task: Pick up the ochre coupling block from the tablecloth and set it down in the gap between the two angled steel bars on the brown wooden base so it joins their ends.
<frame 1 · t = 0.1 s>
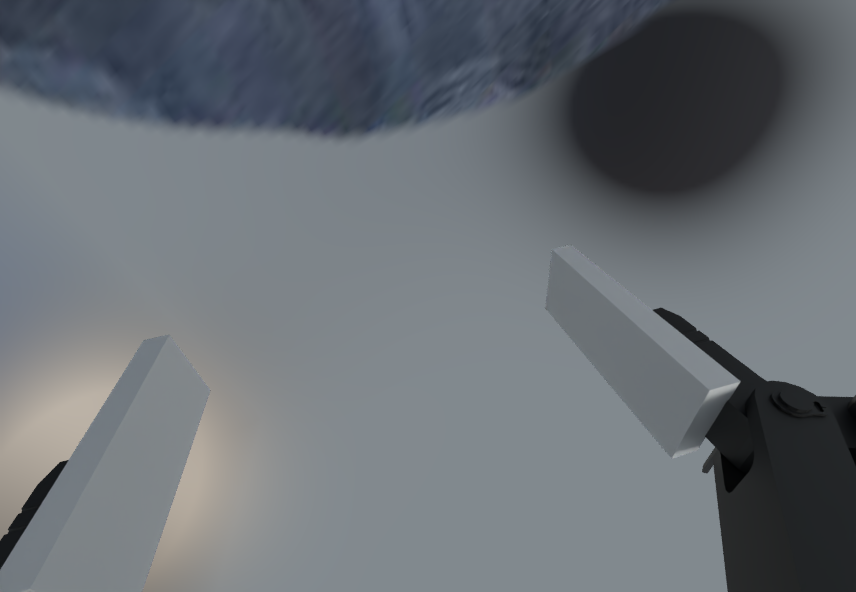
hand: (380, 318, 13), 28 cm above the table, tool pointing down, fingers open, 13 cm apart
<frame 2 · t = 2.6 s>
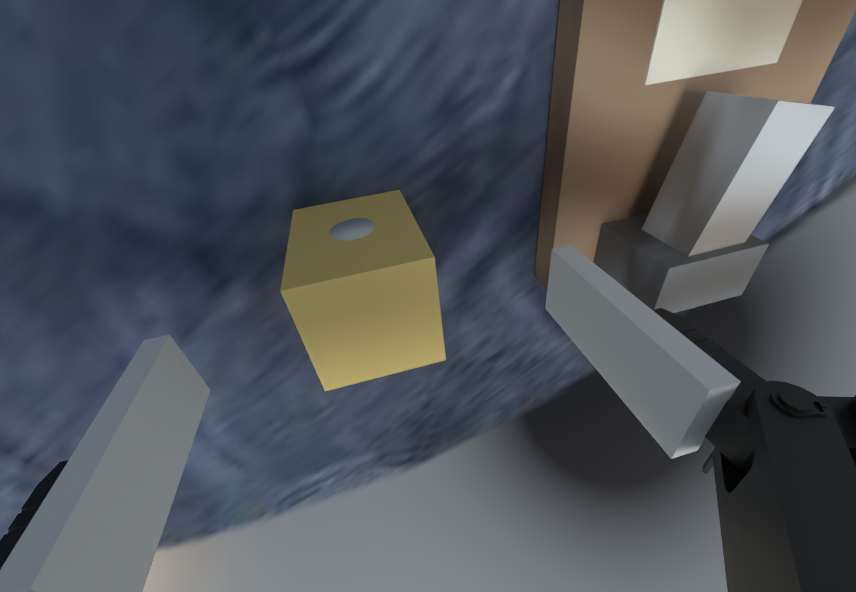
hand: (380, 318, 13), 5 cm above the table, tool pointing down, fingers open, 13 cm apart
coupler: (359, 245, 16), on the table
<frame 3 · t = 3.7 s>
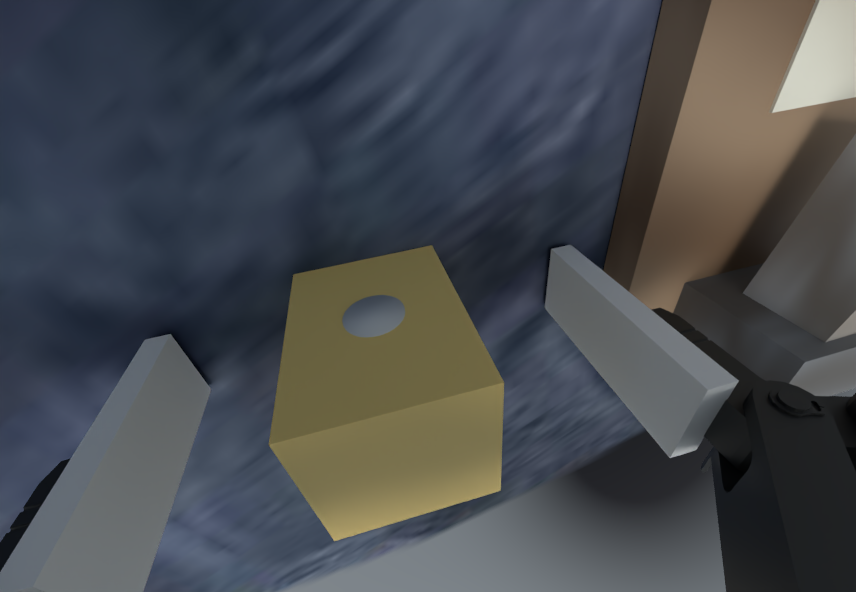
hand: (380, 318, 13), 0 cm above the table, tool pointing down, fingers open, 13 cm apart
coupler: (377, 312, 13), on the table
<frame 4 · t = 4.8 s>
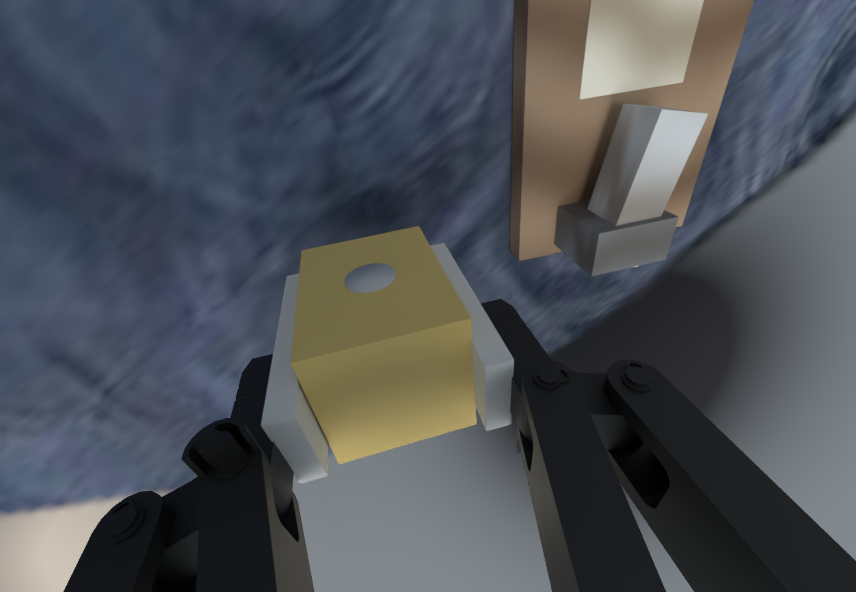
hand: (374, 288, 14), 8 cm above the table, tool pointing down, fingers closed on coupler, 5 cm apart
brown wooden base: (623, 22, 18), on the table
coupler: (373, 286, 15), point 8 cm above the table, touching gripper
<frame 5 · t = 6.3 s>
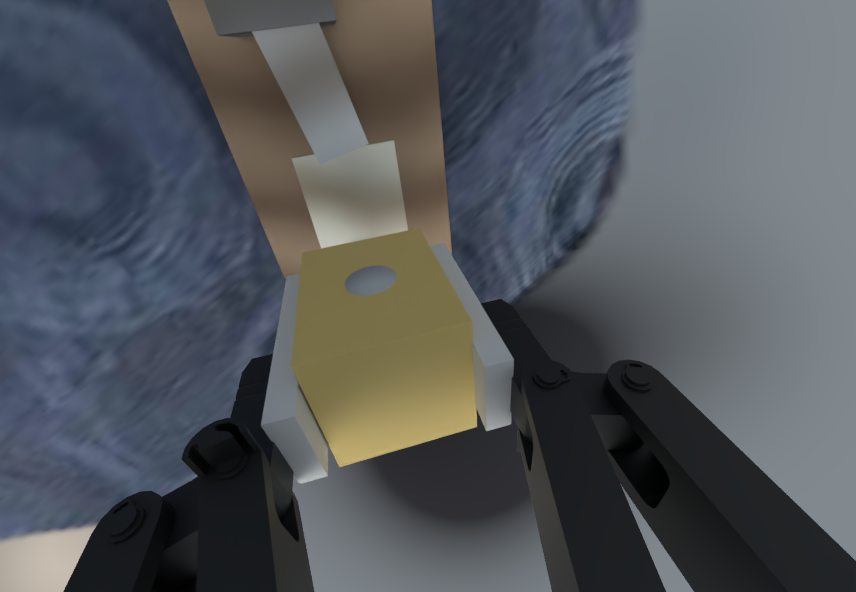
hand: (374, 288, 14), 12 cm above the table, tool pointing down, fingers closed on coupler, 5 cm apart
brown wooden base: (353, 190, 24), on the table
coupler: (373, 288, 15), point 12 cm above the table, touching gripper
when the fingers open (4 cm above the table, at t = 7.8 s): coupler drops 2 cm, resting on brown wooden base.
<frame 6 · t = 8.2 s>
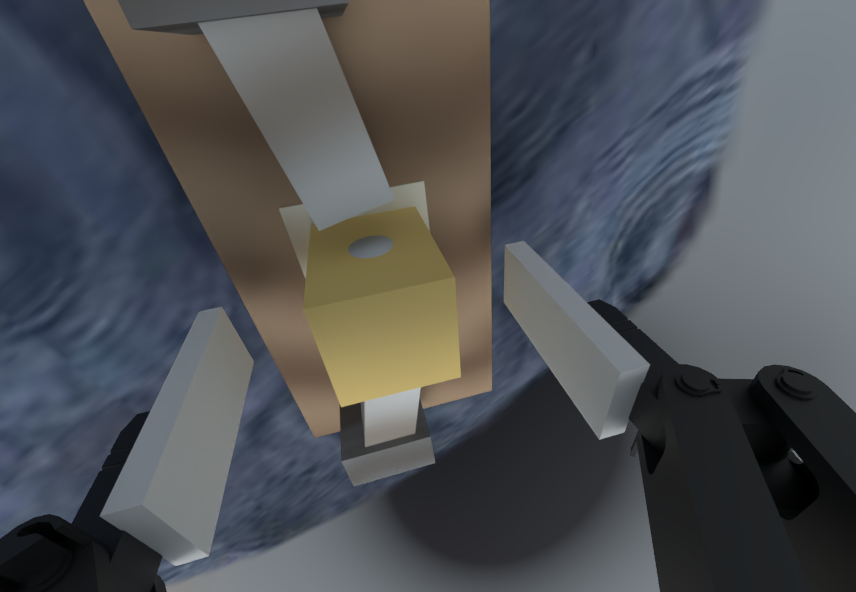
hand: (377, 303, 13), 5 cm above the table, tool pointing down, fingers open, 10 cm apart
brown wooden base: (365, 242, 18), on the table
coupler: (373, 260, 16), point 2 cm above the table, touching brown wooden base
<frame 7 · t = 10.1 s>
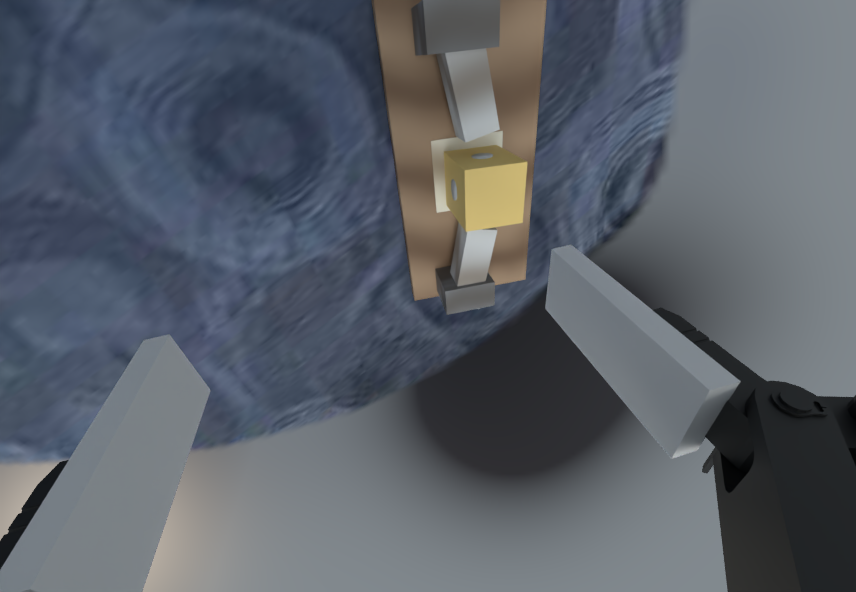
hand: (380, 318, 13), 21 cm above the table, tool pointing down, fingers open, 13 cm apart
brown wooden base: (463, 169, 32), on the table
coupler: (470, 175, 30), point 2 cm above the table, touching brown wooden base
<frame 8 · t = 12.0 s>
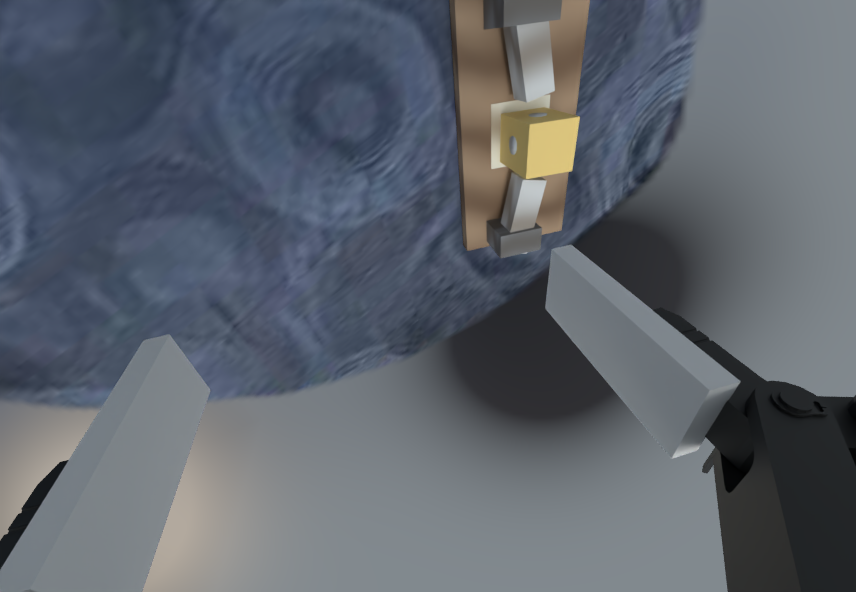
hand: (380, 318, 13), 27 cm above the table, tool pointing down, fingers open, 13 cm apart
brown wooden base: (513, 130, 37), on the table
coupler: (521, 135, 35), point 2 cm above the table, touching brown wooden base
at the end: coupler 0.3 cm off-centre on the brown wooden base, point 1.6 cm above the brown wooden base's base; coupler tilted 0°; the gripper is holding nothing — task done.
